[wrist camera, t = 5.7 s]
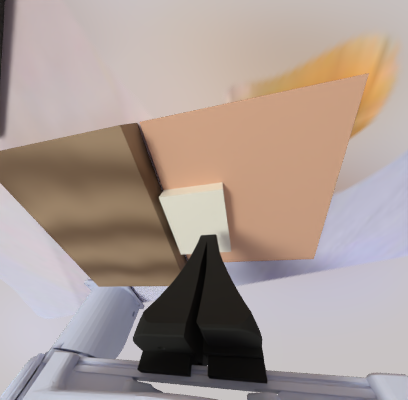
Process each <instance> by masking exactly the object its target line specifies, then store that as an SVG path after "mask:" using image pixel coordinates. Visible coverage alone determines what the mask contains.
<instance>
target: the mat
mask: <svg viewBox="0 0 408 400" xmlns="http://www.w3.org/2000/svg"><path fill="white" fill-rule="evenodd" d="M368 74H369V73H368ZM368 74H363V75H359V76H354V77H349V78H344V79H340V80H335V81H330V82H326V83H321V84H316V85H312V86H307V87H302V88H297V89H293V90H288V91H283V92H279V93H274V94H269V95H265V96H260V97H255V98H251V99H246V100H241V101H236V102H232V103H227V104H222V105H218V106H213V107H208V108H204V109H199V110H194V111H190V112H185V113H180V114H175V115H171V116H166V117H161V118H157V119H152V120H147V121H143V122H140V125H141V128H142V131H143V134H144V136H145V139H146V142H147V145H148V148H149V151H150V153H151V156H152V159H153V162H154V165H155V168H156V170H157V173H158V176H159V179H160V182H161V185H162V187H163V190H168V189H176V188H183V187H191V186H198V185H206V184H213V183H220V182H223V190H224V197H225V205H226V212H227V220H228V227H229V235H230V243H231V252H220V254H221V257H222V260H223V262H242V261H269V260H296V259H314V256H315V253H316V249H317V246H318V243H319V239H320V236H321V233H322V229H323V226H324V222H325V219H326V216H327V212H328V209H329V206H330V202H331V199H332V196H333V192H334V189H335V185H336V182H337V179H338V175H339V172H340V169H341V165H342V162H343V159H344V155H345V152H346V148H347V145H348V142H349V138H350V135H351V132H352V128H353V125H354V122H355V118H356V115H357V111H358V108H359V105H360V101H361V98H362V95H363V91H364V88H365V85H366V81H367V78H368ZM186 256H187V258H188V260H189V258H190V256H191V254H186Z"/></svg>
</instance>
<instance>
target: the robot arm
mask: <svg viewBox="0 0 408 400" xmlns="http://www.w3.org/2000/svg"><path fill="white" fill-rule="evenodd" d="M84 284H85V285H86V286H87V287H88V288H89V289H90V290H91V292H90V294H89V295H88V297H87V298H86V300H85V301H84V302H83V304H82V305H81V307H80V308H79V309H78V311H77V312H76V314H75V315H74V316H73V318H72V319H71V321H70V322H69V324H68V325H67V326H66V328H65V329H64V330H63V332H62V334H61V335H60V336H59V338H58V339H57V340H56V342H55V343H54V345H53V346H52V347H51V349H50V350H49V351H48V352H46V353H45V354H42V353H40V354H38V355H37V356H35V357H33V358H31V359H30V360H29V361H28V362H27V364H26V365H25V366H24V367H23V368H22V370H21V371H20V372H19V373H18V375H17V376H16V377H15V378H14V380H13V381H12V383H11V384H10V385H9V386H8V387H7V389H6V390H5V391H4V393H3V394H2V395H1V396H0V400H216V399H210V398H204V397H197V396H188V395H180V394H170V393H163V392H162V391H159V390H157V389H155V388H154V387H152V385H151V384H147V383H143V382H138V381H137V380H139V381H149V382H160V383H170V384H180V385H192V386H201V387H211V388H221V389H232V390H242V391H252V392H263V393H249V394H248V395H247V399H248V400H408V376H406V375H405V374H390V373H371V374H369V375H367V377H366V378H362V377H349V376H335V375H321V374H308V373H295V372H294V373H293V372H281V371H280V372H279V371H267V370H266V369H265V364H264V356H263V351H262V336H261V333H260V330H259V328H258V326H257V324H256V322H255V319H254V317H253V315H252V313H251V311H250V310H249V308H248V307H247V305H246V304H245V302H244V301H243V299H242V297H241V296H240V294H239V292H238V291H237V289H236V287H235V285H234V283H233V282H232V280H231V278H230V276H229V274H228V272H227V269H226V267H225V265H224V262H223V260H222V257H221V254H220V251H219V245H218V240H217V235H216V234H212V235H201V236H200V238H199V241H198V243H197V245H196V247H195V249H194V251H193V253H192V254H191V256H190V258H189V260H188V261H187V263H186V264H185V266H184V267H183V269H182V270H181V272H180V273H179V274H178V276H177V277H176V278H175V280H174V281H173V282H172V283H171V284H170V286H169V287H168V288H167V289H166V290H165V291H164V292H163V293H162V294H161V296H160V297H159V298H158V299H157V300H156V301H155V302H154V303H152V304H151V305H150V306H149V307H148V308H147V309H146V310H145V311H144V312H143V315H142V317H141V318H140V321H139V323H138V326H137V328H136V331H135V334H134V337H133V341H134V343H135V344H136V345H137V346H138V347H139V348H140V349H141V350H143V352H142V356H141V359H140V361H131V360H118V359H116V357H117V356H118V355H119V354H120V352H121V351H122V349H123V347H124V345H125V343H126V340H127V338H128V335H129V333H130V330H131V328H132V326H133V323H134V320H135V318H136V316H137V313H138V310H139V309H143V308H144V305H143V304H142V302H141V301H140V300H139V298H138V297H137V296H136V294H135V293H134V292H133V291H132V289H131V288H130V287H129V286H118V287H98V286H97V284H96V283H95V282H94V281H93V280H87V281H85V282H84ZM207 365H208V366H207ZM277 394H278V395H277Z"/></svg>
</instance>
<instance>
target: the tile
mask: <svg viewBox="0 0 408 400" xmlns="http://www.w3.org/2000/svg"><path fill="white" fill-rule="evenodd" d="M159 200H160V202H161V205H162V207H163V210H164V212H165V215H166V218H167V220H168V223H169V225H170V228H171V230H172V233H173V235H174V238H175V241H176V243H177V246H178V248H179V251H180V253H181V255H182V254H192V253H193V251H194V249H195V247H196V245H197V243H198V241H199V238H200V236H201V235H212V234H216V235H217V240H218V245H219V251H220V252H231V243H230V235H229V227H228V220H227V212H226V205H225V197H224V190H223V182H220V183H213V184H206V185H198V186H191V187H183V188H176V189H168V190H163V192H162V193H161V195H160V196H159Z"/></svg>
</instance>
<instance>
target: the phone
mask: <svg viewBox="0 0 408 400" xmlns="http://www.w3.org/2000/svg"><path fill="white" fill-rule="evenodd" d="M4 4H5V0H0V77H1V59H2V41H3V23H4Z"/></svg>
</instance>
